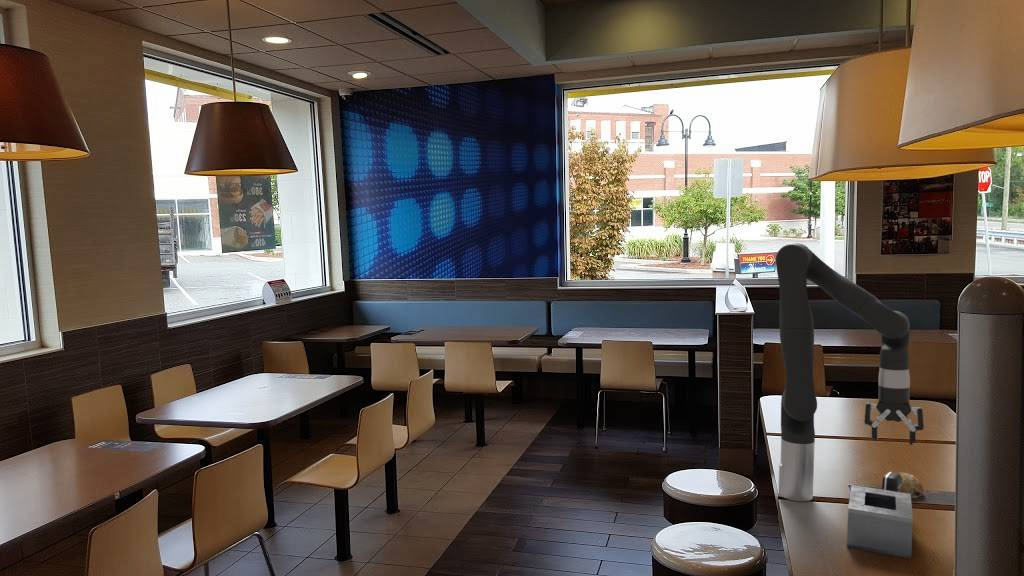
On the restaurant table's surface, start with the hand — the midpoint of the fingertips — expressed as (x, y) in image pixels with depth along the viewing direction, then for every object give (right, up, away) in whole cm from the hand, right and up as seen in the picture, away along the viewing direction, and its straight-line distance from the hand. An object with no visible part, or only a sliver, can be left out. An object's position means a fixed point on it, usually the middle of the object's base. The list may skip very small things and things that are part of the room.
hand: (893, 442), depth 193 cm
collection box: (-11, -22, -14) cm, 28 cm away
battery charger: (0, -21, +2) cm, 21 cm away
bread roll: (+12, -20, +18) cm, 29 cm away
